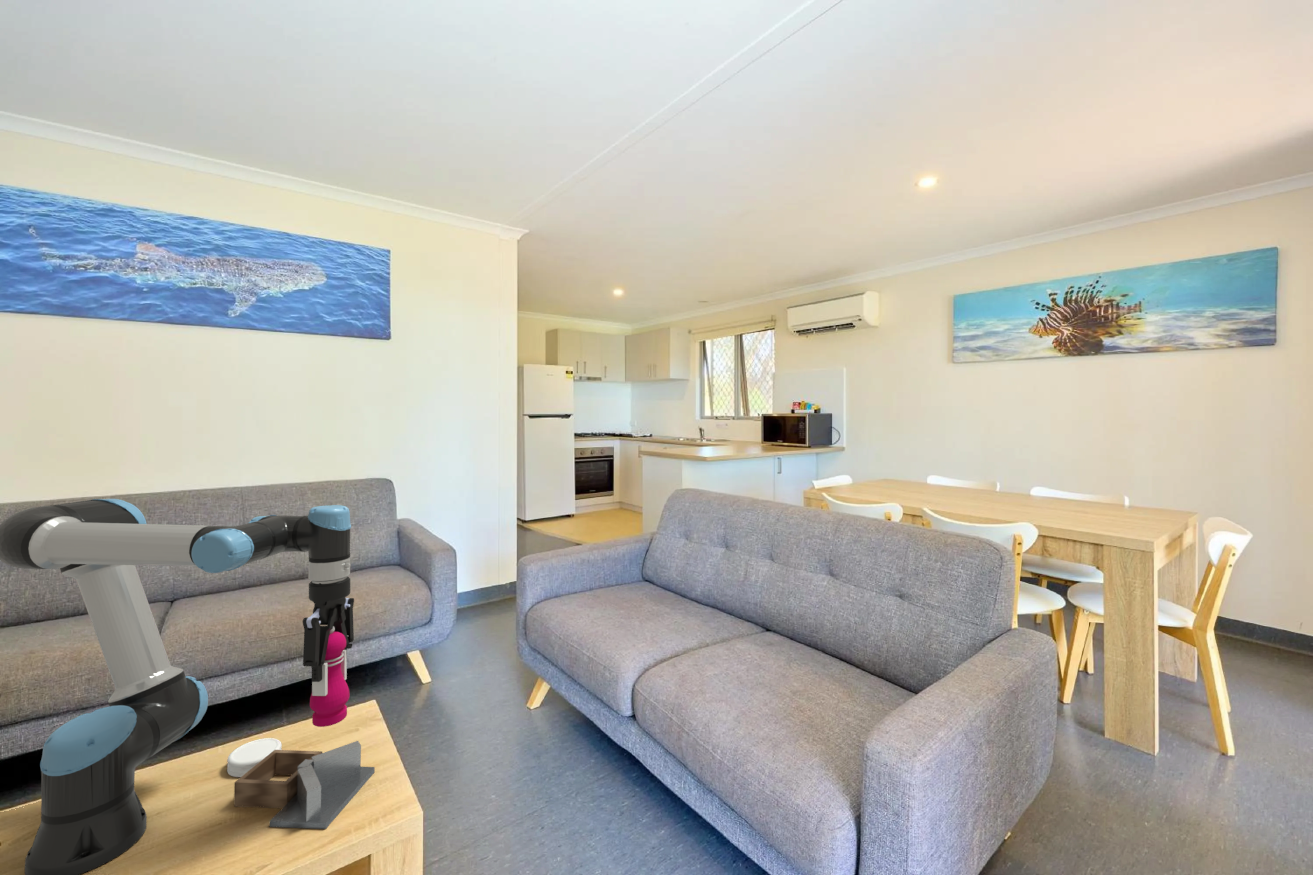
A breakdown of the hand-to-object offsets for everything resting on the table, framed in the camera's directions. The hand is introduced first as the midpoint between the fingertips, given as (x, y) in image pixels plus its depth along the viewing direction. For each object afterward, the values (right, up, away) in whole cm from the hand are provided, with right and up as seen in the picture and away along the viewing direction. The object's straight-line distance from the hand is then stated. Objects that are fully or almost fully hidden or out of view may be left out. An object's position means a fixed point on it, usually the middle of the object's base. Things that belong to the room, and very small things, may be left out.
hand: (329, 686), depth 110 cm
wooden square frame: (-12, -23, +2) cm, 26 cm away
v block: (-1, -23, 0) cm, 23 cm away
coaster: (-24, -23, +10) cm, 35 cm away
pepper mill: (0, -7, 0) cm, 7 cm away
